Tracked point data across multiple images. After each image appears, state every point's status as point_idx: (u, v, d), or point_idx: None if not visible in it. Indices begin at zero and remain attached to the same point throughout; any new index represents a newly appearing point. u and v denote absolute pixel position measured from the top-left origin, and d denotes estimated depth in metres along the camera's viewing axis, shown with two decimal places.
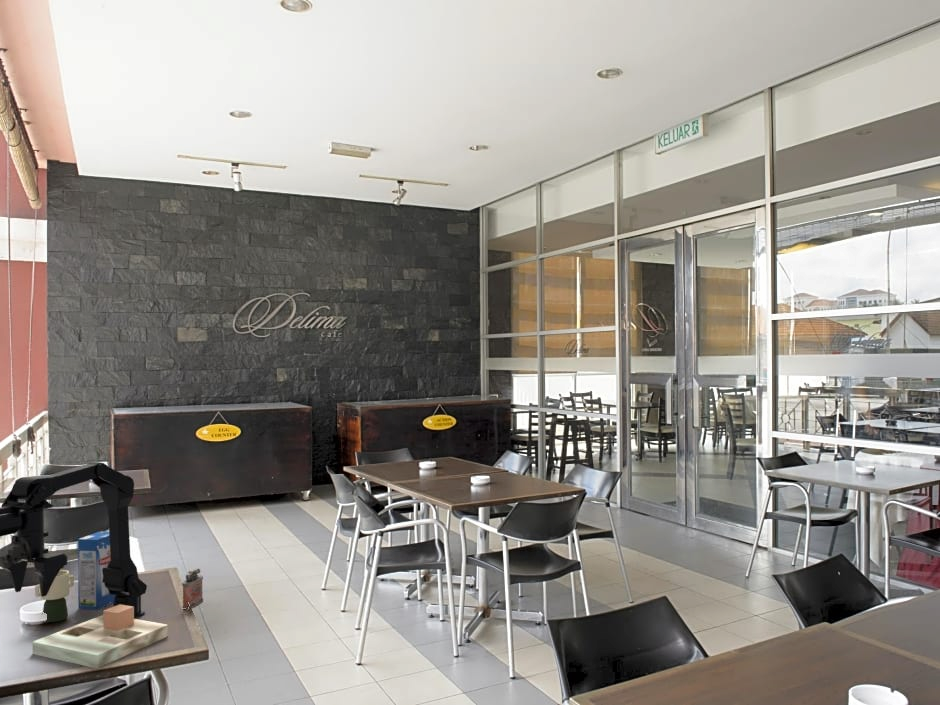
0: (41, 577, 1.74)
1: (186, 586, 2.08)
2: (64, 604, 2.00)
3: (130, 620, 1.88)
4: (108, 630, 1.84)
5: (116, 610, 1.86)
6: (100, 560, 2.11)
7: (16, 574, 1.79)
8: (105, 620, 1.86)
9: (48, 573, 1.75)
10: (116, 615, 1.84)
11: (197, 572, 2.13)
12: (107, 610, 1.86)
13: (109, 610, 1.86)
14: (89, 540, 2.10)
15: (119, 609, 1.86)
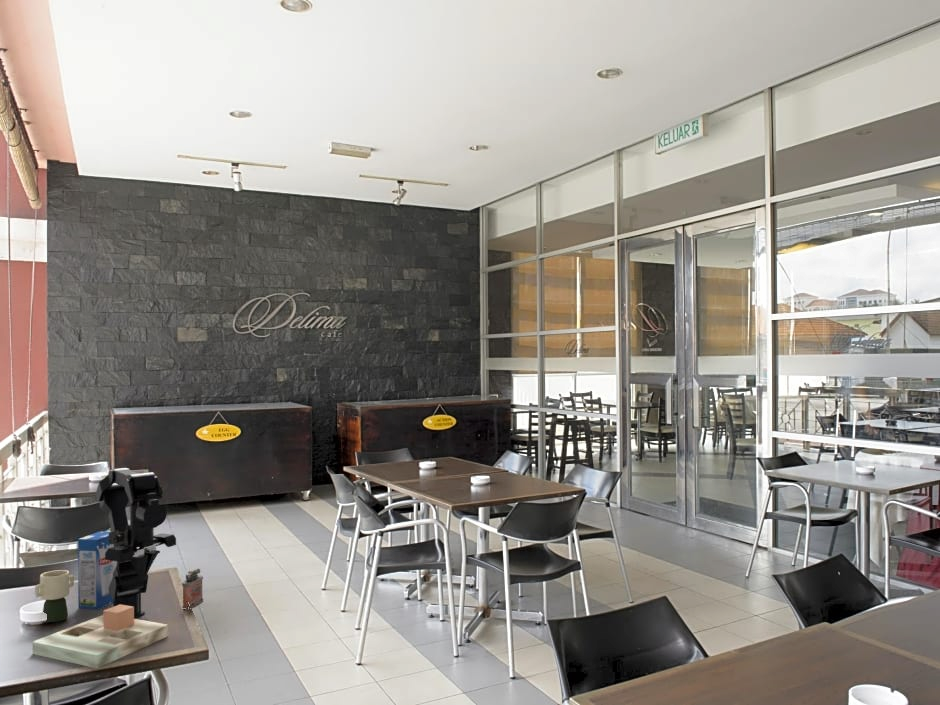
0: None
1: (185, 586, 2.08)
2: (64, 604, 2.00)
3: (130, 620, 1.88)
4: (108, 630, 1.84)
5: (116, 610, 1.86)
6: (100, 560, 2.11)
7: None
8: (105, 620, 1.86)
9: (138, 560, 1.93)
10: (116, 615, 1.84)
11: (197, 572, 2.13)
12: (107, 610, 1.86)
13: (109, 610, 1.86)
14: (89, 540, 2.10)
15: (119, 609, 1.86)
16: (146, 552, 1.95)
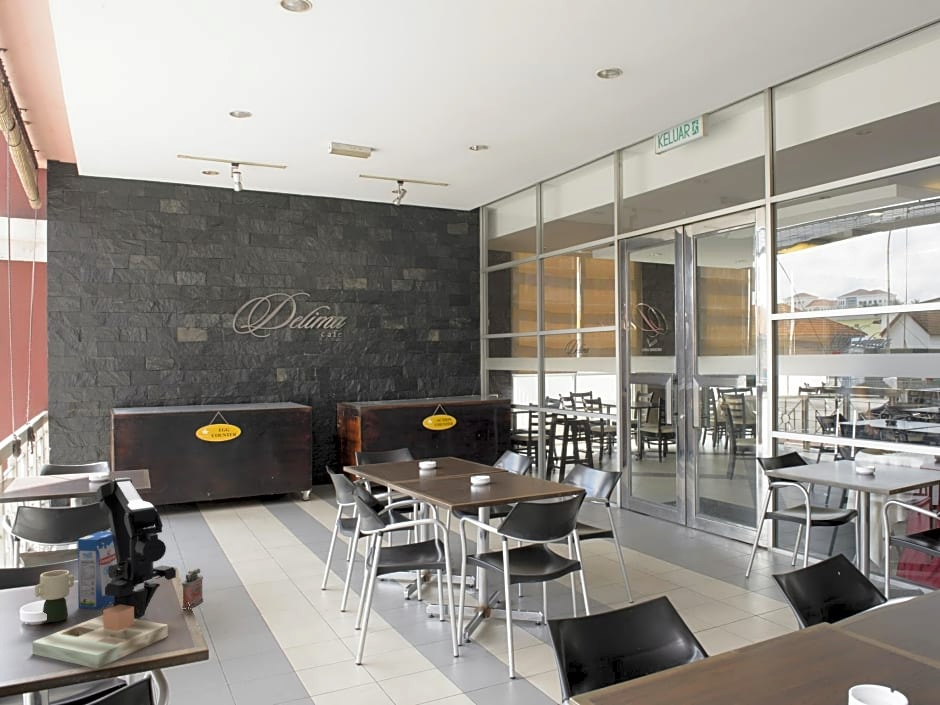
0: None
1: (185, 586, 2.08)
2: (64, 604, 2.00)
3: (130, 620, 1.88)
4: (108, 630, 1.84)
5: (116, 610, 1.86)
6: (100, 560, 2.11)
7: None
8: (105, 620, 1.86)
9: (138, 594, 1.93)
10: (116, 615, 1.84)
11: (197, 572, 2.13)
12: (107, 610, 1.86)
13: (109, 610, 1.86)
14: (89, 540, 2.10)
15: (119, 609, 1.86)
16: (146, 585, 1.95)
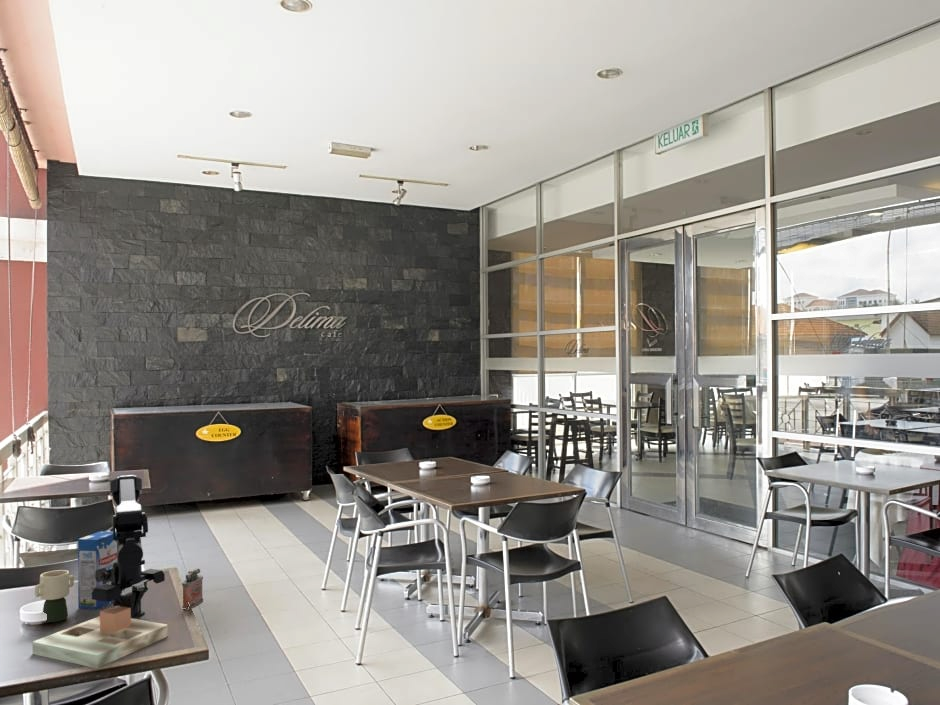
0: None
1: (185, 586, 2.08)
2: (64, 604, 2.00)
3: (126, 621, 1.87)
4: None
5: (113, 611, 1.85)
6: (100, 560, 2.11)
7: None
8: (101, 622, 1.85)
9: (126, 598, 1.89)
10: (113, 616, 1.83)
11: (197, 572, 2.13)
12: (104, 611, 1.85)
13: (106, 612, 1.85)
14: (89, 540, 2.10)
15: (115, 611, 1.85)
16: (134, 589, 1.91)
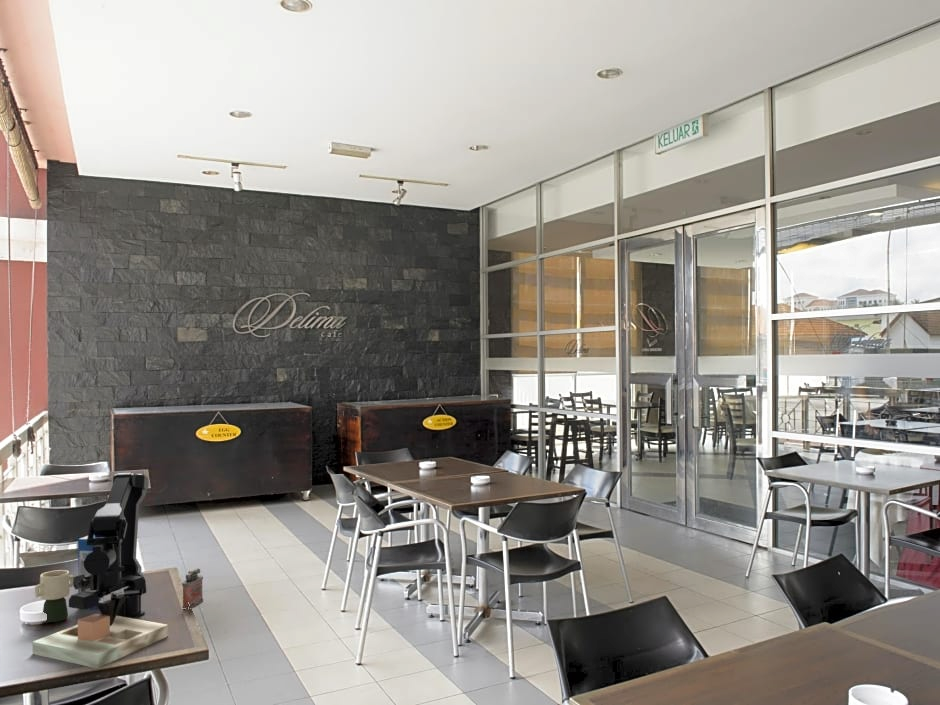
0: None
1: (185, 586, 2.08)
2: (64, 604, 2.00)
3: (105, 630, 1.81)
4: None
5: (91, 619, 1.79)
6: None
7: None
8: (79, 630, 1.79)
9: (105, 605, 1.83)
10: (91, 625, 1.77)
11: (197, 572, 2.13)
12: (82, 620, 1.79)
13: (84, 620, 1.79)
14: None
15: (94, 619, 1.79)
16: (113, 597, 1.85)
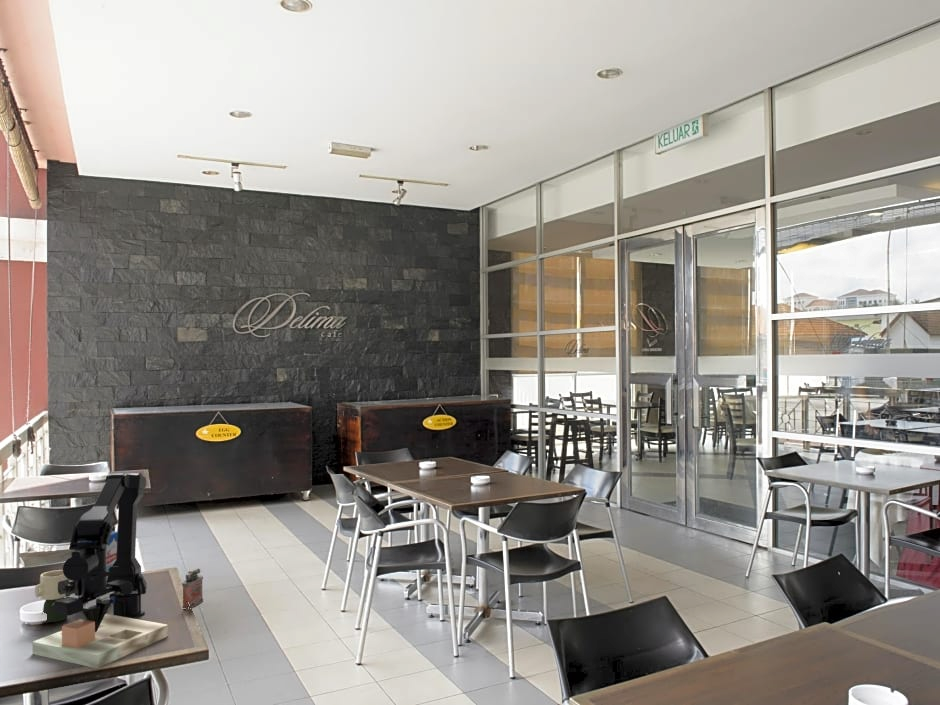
0: None
1: (185, 586, 2.08)
2: None
3: (90, 636, 1.77)
4: (108, 630, 1.84)
5: (76, 625, 1.75)
6: None
7: None
8: (63, 636, 1.75)
9: (90, 611, 1.79)
10: (75, 631, 1.73)
11: (197, 572, 2.13)
12: (66, 626, 1.75)
13: (68, 626, 1.75)
14: None
15: (78, 625, 1.76)
16: (98, 602, 1.81)
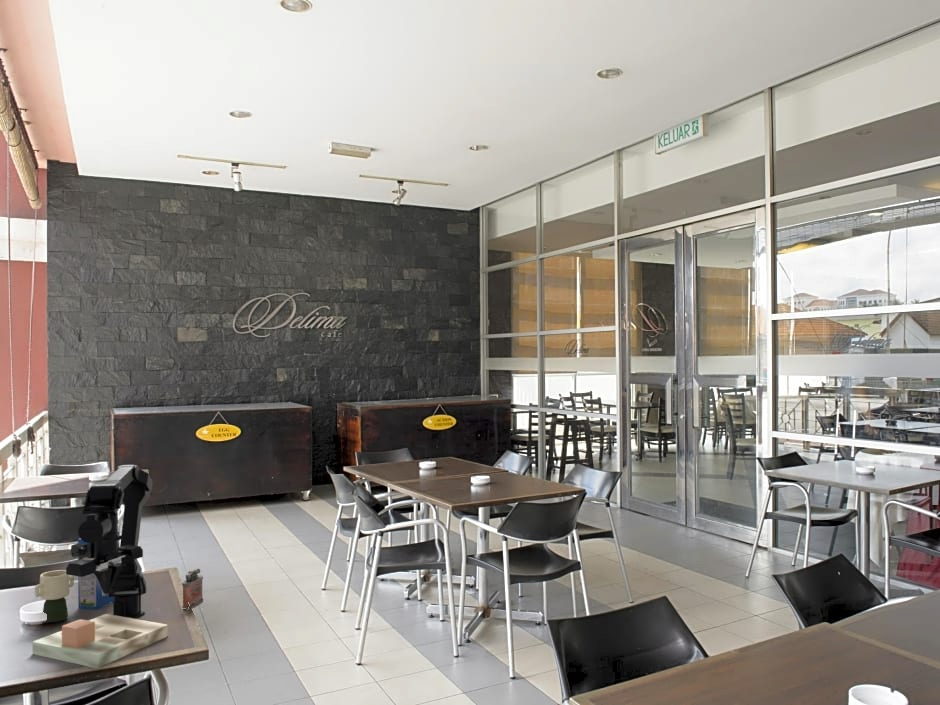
0: None
1: (185, 586, 2.08)
2: (64, 604, 2.00)
3: (90, 636, 1.77)
4: (108, 630, 1.84)
5: (76, 625, 1.75)
6: None
7: None
8: (63, 636, 1.75)
9: (102, 573, 1.85)
10: (75, 631, 1.73)
11: (197, 572, 2.13)
12: (66, 626, 1.75)
13: (68, 626, 1.75)
14: None
15: (78, 625, 1.76)
16: (110, 565, 1.87)
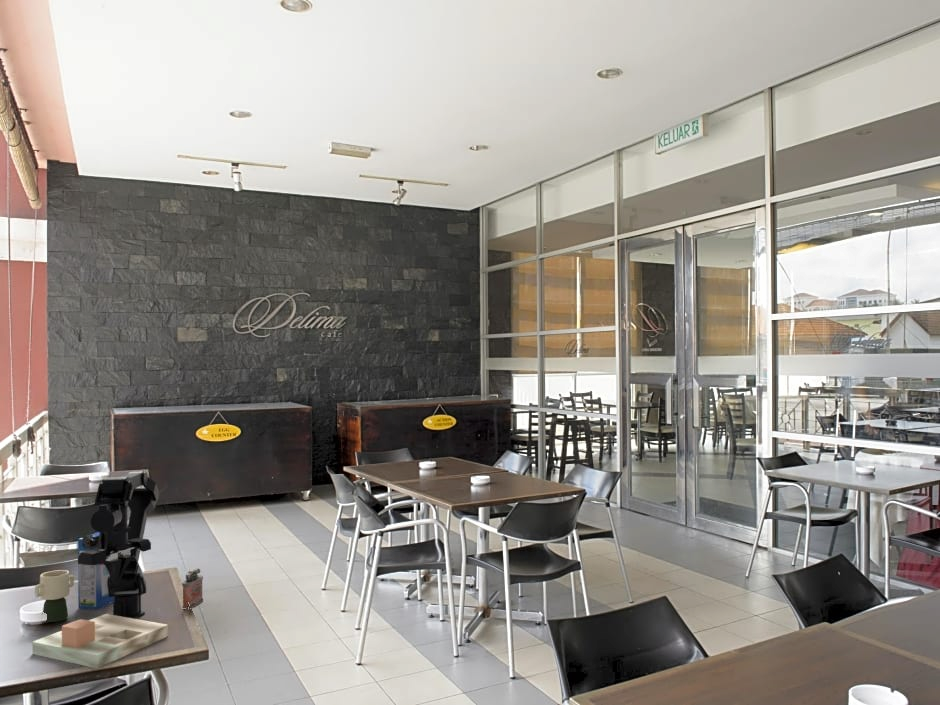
0: None
1: (186, 586, 2.08)
2: (64, 604, 2.00)
3: (90, 636, 1.77)
4: (108, 630, 1.84)
5: (76, 625, 1.75)
6: None
7: None
8: (63, 636, 1.75)
9: (112, 564, 1.92)
10: (75, 631, 1.73)
11: (197, 572, 2.13)
12: (66, 626, 1.75)
13: (68, 626, 1.75)
14: None
15: (78, 625, 1.76)
16: (120, 556, 1.94)
